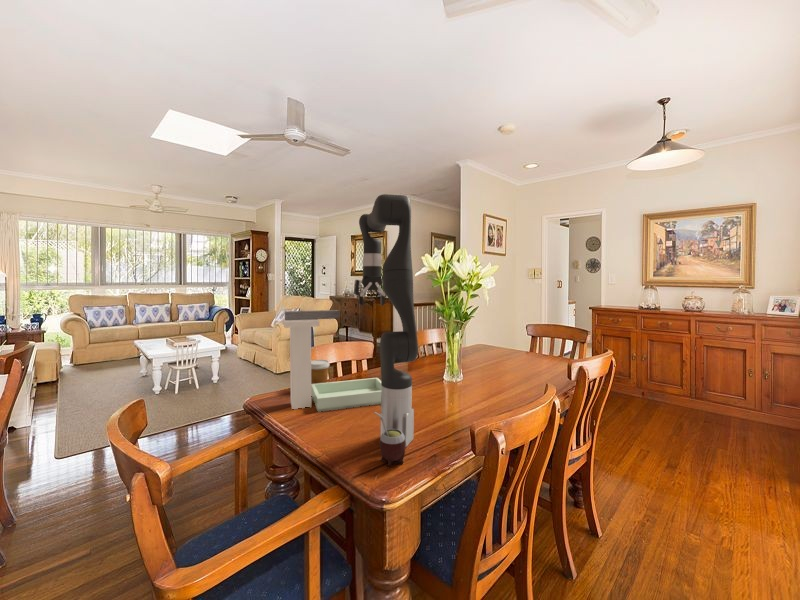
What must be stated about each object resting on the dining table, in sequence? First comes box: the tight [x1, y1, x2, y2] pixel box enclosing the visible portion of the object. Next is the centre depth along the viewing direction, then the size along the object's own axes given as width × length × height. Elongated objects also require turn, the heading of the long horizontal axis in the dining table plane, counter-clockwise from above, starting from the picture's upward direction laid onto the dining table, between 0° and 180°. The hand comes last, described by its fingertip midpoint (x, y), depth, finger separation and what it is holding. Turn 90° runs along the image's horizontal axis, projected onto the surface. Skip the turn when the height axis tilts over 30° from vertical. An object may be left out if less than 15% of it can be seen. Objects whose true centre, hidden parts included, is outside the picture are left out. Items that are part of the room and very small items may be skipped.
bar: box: [284, 309, 341, 320], centre depth 133 cm, size 20×3×3 cm, turn 111°
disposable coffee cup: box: [311, 359, 331, 384], centre depth 153 cm, size 10×10×12 cm
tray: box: [311, 377, 381, 413], centre depth 141 cm, size 28×18×5 cm, turn 111°
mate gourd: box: [373, 411, 407, 469], centre depth 93 cm, size 8×8×15 cm
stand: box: [282, 317, 320, 410], centre depth 133 cm, size 12×13×33 cm
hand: (371, 305), depth 141 cm, fingers open, 8 cm apart
